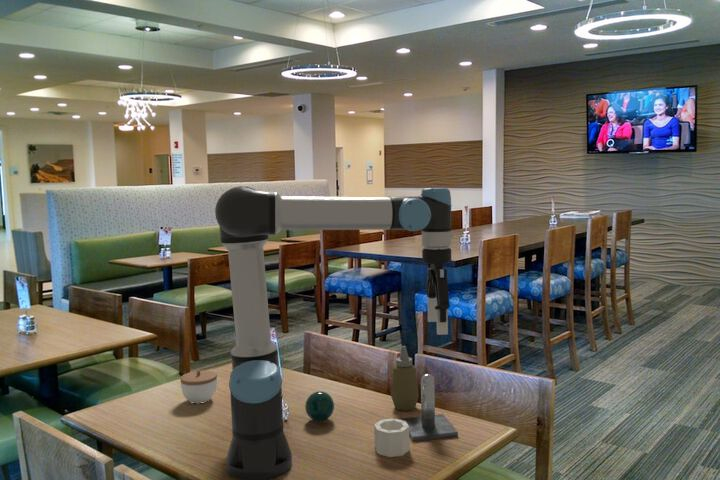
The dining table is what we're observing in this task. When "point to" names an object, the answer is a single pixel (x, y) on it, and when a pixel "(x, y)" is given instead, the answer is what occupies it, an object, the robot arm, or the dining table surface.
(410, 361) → the squeeze bottle
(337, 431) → the dining table surface
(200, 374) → the lidded jar
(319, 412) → the sphere
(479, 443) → the dining table surface
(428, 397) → the post
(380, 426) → the ring
